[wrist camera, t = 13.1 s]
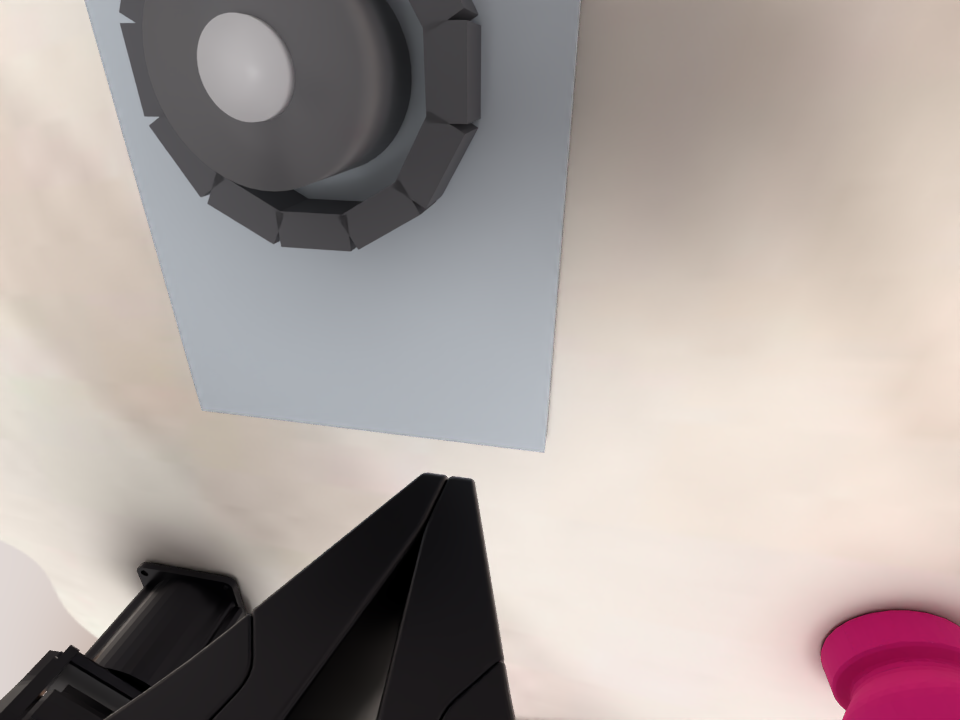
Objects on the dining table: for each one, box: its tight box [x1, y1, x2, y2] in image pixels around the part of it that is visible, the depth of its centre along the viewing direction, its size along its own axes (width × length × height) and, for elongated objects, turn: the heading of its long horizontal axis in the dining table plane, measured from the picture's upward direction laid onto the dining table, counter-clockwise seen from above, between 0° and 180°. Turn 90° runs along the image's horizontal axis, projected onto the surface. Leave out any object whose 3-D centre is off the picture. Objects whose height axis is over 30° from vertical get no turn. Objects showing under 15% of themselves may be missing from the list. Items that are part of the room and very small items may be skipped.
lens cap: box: [142, 0, 412, 192], centre depth 15 cm, size 6×6×4 cm
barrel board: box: [85, 0, 581, 453], centre depth 19 cm, size 16×20×3 cm
